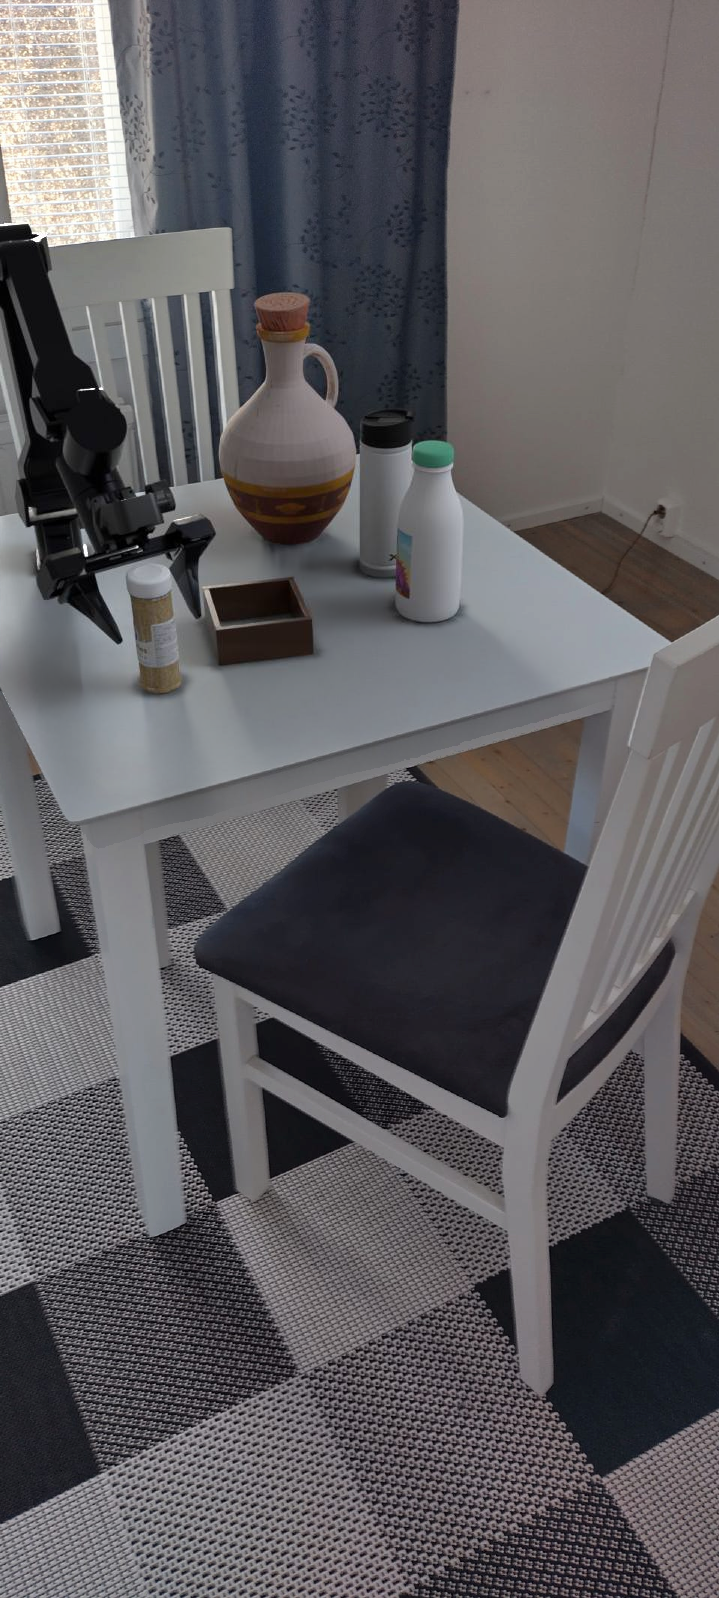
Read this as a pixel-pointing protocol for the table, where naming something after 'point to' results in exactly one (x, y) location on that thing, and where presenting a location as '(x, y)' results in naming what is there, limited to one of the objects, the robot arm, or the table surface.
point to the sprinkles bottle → (154, 627)
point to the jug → (288, 435)
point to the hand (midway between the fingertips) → (160, 630)
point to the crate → (262, 636)
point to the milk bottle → (429, 538)
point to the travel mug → (383, 486)
